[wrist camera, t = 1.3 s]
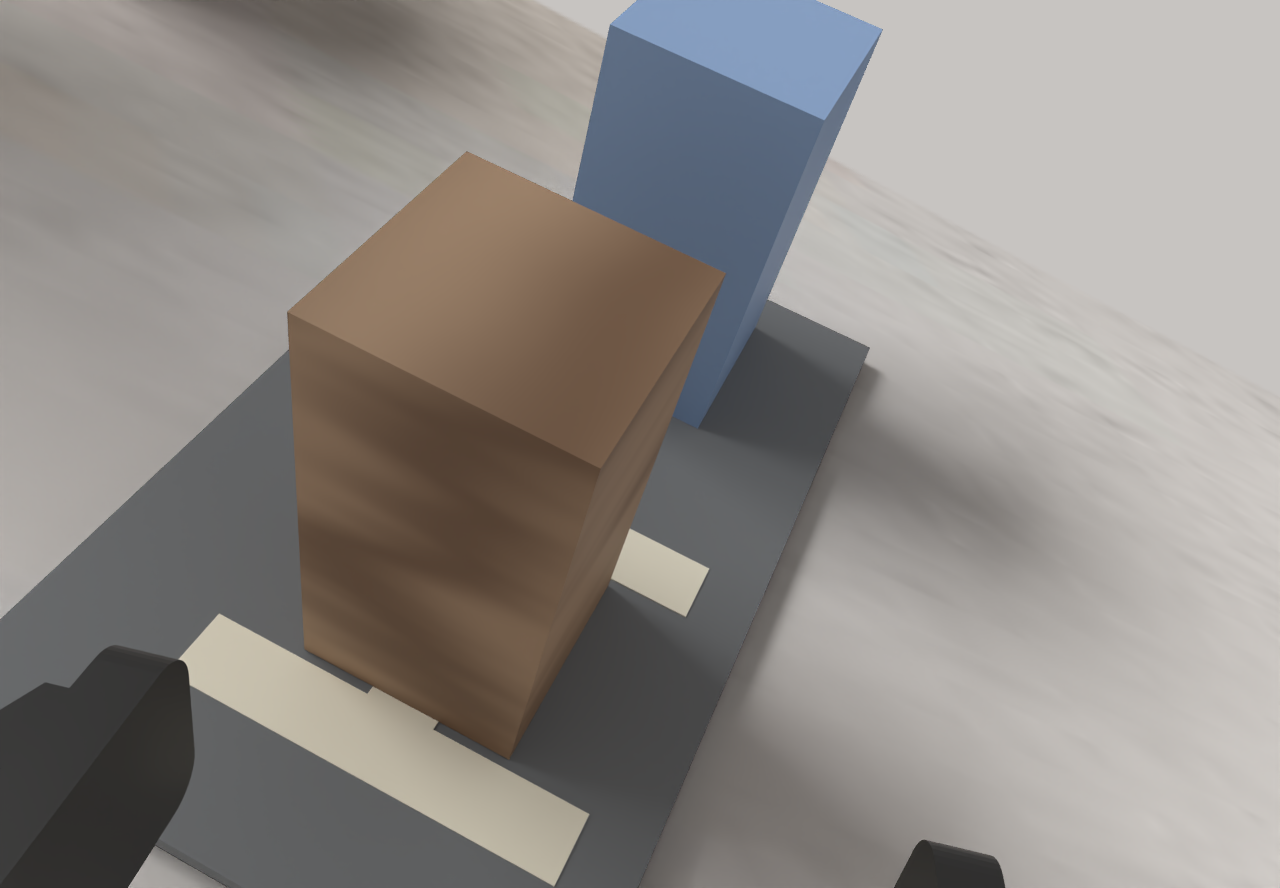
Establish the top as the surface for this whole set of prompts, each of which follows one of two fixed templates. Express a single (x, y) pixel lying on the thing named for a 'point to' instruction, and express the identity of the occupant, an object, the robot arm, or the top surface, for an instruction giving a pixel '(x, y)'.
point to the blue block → (720, 143)
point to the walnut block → (480, 438)
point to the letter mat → (393, 731)
